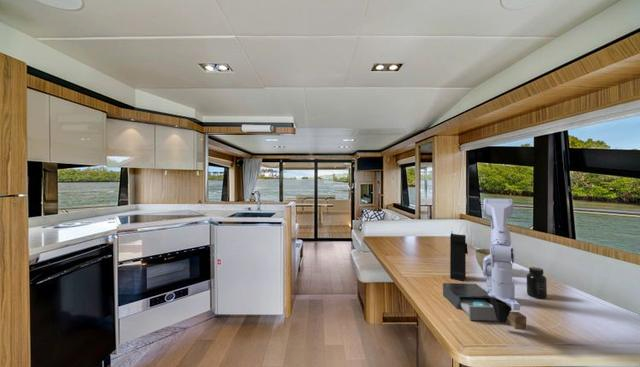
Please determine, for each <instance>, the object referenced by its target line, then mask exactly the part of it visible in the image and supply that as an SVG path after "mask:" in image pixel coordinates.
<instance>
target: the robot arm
mask: <svg viewBox="0 0 640 367" xmlns="http://www.w3.org/2000/svg"><path fill="white" fill-rule="evenodd" d="M513 214H514V200H513V199H512V198H487V197H485V198H484V199H483V215H484V216H485V217H487V218H489V220H490V246H489V250H490V255H488V256H486V257H484V259H483V271H482V274H483V276H484V277H486V287H485V288H486V289H485V291H486V292H488V295H489V296H490V297H494V298H490V301H491V303H492V305H493V308H494V310H495V314H496V318H497V322H498V323H499V324H507V322H508V321H507V318H508V315H509V313H510V312H512V311H521V303H519V302H518V301H517V300H516V299H515V298H516V297H515V296H516V294H515V293H516V290H515V289H516V288H515V287H516V286H515V284H514V282H513V264H515V249H514V246H513V243H512V240H511V237H512V236H511V232H510V230H509V229H507V227H506V226H507V219H508V218H511V217H512V215H513Z"/></svg>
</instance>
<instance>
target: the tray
mask: <svg viewBox="0 0 640 367" xmlns="http://www.w3.org/2000/svg"><path fill="white" fill-rule="evenodd" d="M473 302H484V303H487V304H489V305H490V306H473ZM459 306H461V307H462V308H463V309H462V310H464V311H465V312H466V313H467V314H468V319H469V320H470V321H471V320H472V321H497V318H496V314H495V310H494V308H493V306H492V305H491V304H490V303H489V302H487V301H486V300H485V299H459ZM497 322H498V321H497ZM506 322H508V318H507V321H506Z"/></svg>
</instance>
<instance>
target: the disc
mask: <svg viewBox="0 0 640 367" xmlns="http://www.w3.org/2000/svg"><path fill="white" fill-rule="evenodd" d="M473 306H490V305H489V304H487V303H484V302H473Z"/></svg>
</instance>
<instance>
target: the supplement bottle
mask: <svg viewBox="0 0 640 367" xmlns="http://www.w3.org/2000/svg"><path fill="white" fill-rule="evenodd" d="M528 272H529V273H527V274H526V295H527V296H529V297H531V298H534V299H539V300H545V299H547V297H548V286H547V285H548V284H547V282H548V281H547V277H546V276H545V275H544V269H543V268H541V267H534V266H532V267H531V266H530V267H529V268H528Z"/></svg>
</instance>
